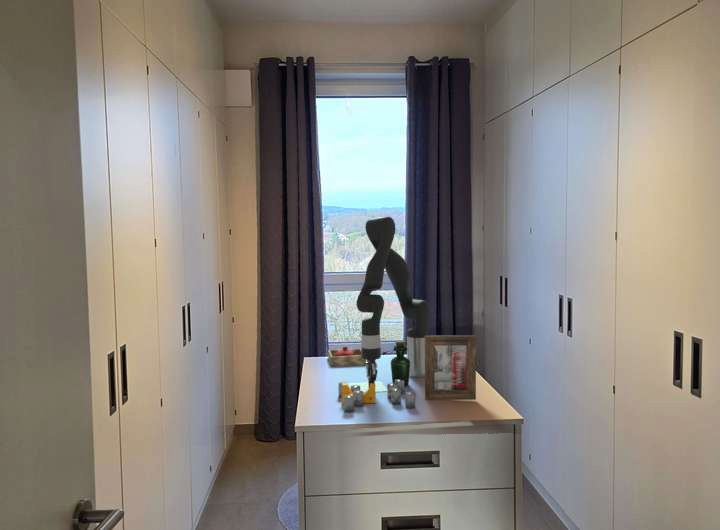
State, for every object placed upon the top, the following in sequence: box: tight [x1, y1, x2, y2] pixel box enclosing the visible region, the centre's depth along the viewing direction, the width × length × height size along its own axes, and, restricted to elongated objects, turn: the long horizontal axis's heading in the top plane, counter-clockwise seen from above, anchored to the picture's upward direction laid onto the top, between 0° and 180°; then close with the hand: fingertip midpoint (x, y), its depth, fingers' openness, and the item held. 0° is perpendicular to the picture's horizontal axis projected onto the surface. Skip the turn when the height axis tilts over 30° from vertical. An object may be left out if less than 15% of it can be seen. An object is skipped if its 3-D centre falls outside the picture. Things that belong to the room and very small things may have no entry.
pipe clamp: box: [341, 382, 376, 405], centre depth 188 cm, size 12×4×6 cm, turn 86°
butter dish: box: [336, 345, 355, 356], centre depth 249 cm, size 12×12×8 cm
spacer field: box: [337, 379, 416, 413], centre depth 190 cm, size 26×21×5 cm
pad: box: [347, 381, 387, 393], centre depth 208 cm, size 16×14×1 cm
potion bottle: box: [390, 339, 410, 388], centre depth 211 cm, size 8×8×18 cm
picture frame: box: [424, 335, 477, 401], centre depth 191 cm, size 19×2×24 cm, turn 87°
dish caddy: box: [327, 348, 367, 367], centre depth 250 cm, size 17×16×5 cm
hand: (371, 390), depth 199 cm, fingers closed
